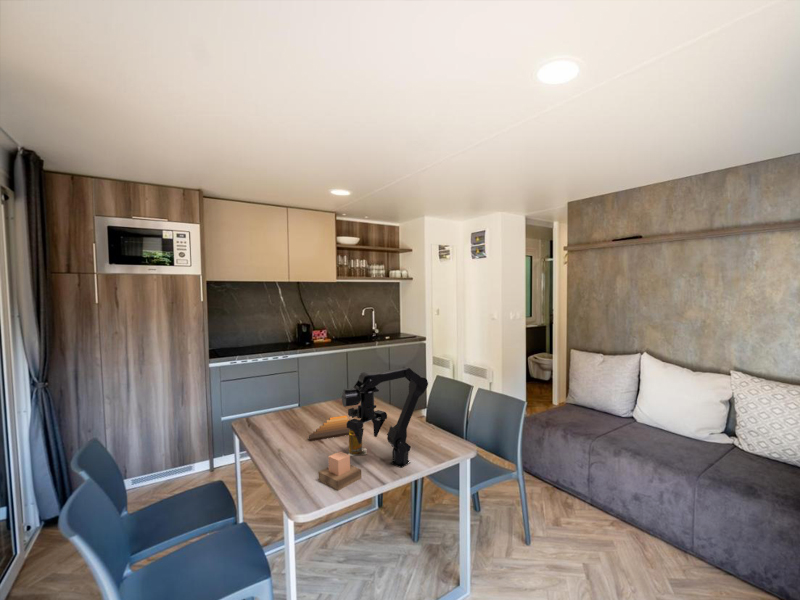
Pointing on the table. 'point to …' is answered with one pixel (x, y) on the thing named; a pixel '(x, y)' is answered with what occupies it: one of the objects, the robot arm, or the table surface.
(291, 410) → the table surface
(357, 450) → the condiment
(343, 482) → the walnut block
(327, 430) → the pan flute
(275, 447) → the table surface
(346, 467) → the terracotta cube
